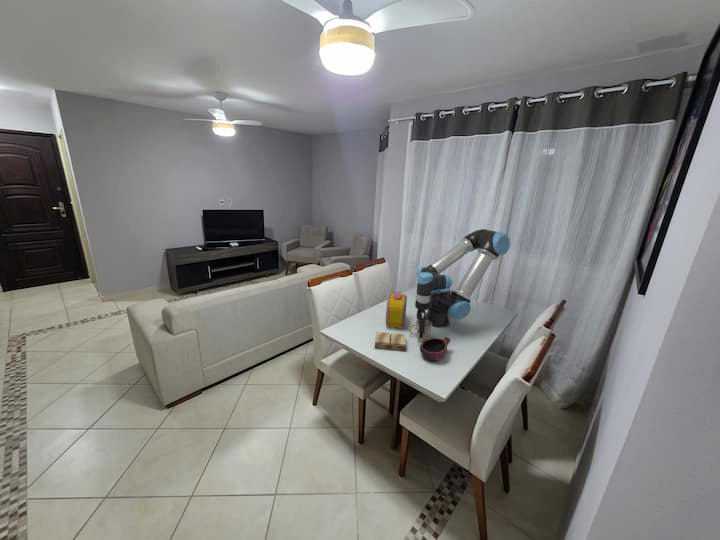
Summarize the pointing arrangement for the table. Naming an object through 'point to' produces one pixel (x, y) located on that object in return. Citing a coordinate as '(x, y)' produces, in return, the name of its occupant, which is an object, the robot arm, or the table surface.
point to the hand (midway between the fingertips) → (418, 335)
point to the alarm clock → (396, 310)
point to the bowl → (434, 348)
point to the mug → (427, 329)
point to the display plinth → (390, 341)
